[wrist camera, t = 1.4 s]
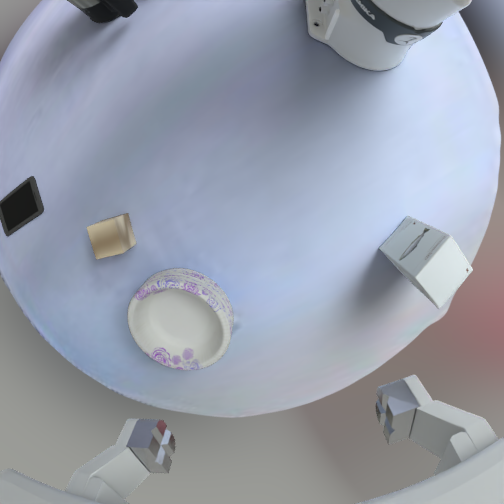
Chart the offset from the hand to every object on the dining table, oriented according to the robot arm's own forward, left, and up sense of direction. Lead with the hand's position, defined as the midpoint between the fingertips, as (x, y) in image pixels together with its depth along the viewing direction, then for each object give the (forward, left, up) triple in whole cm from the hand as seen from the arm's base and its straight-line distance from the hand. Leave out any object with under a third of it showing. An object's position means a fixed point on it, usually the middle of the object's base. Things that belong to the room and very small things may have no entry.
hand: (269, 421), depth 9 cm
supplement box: (+7, +22, -34) cm, 41 cm away
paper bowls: (+10, -14, -34) cm, 38 cm away
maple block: (-4, -22, -34) cm, 41 cm away
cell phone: (-14, -44, -35) cm, 58 cm away
